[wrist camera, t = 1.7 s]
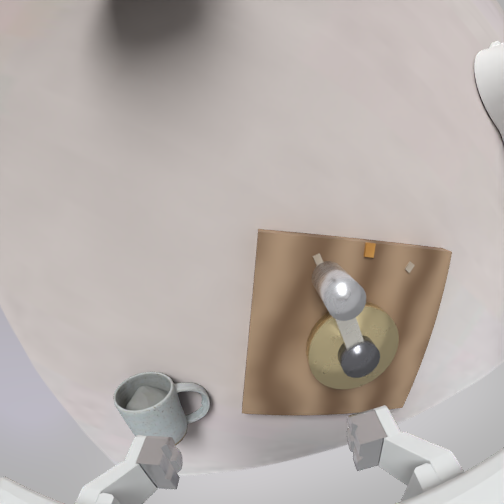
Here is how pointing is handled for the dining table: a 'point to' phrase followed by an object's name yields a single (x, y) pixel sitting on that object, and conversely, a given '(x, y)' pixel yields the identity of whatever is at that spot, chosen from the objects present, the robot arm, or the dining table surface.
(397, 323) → the brown flat wooden board
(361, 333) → the brass and silver crank
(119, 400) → the ceramic mug
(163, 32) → the dining table surface
